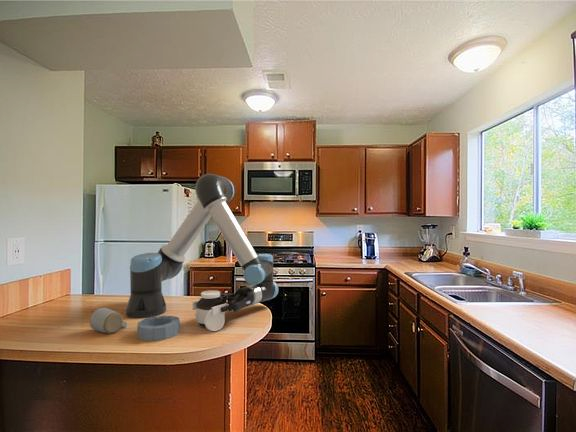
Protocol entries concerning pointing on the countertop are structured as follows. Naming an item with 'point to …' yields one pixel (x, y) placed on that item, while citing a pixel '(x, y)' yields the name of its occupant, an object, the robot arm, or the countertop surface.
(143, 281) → the robot arm
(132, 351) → the countertop surface
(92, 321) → the ceramic mug
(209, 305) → the spread jar
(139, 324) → the slate bowl
